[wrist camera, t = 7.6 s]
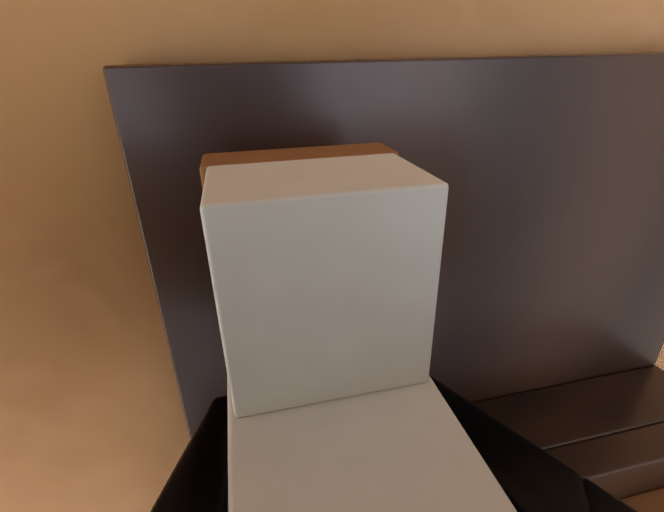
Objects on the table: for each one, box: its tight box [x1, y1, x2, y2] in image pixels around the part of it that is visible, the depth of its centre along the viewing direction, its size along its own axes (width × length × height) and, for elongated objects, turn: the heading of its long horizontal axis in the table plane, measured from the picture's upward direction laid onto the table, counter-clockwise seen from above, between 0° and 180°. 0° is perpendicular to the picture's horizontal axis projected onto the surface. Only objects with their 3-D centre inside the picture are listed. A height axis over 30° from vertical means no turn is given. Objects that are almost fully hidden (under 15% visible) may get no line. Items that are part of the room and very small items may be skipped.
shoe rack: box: [103, 52, 664, 500], centre depth 11 cm, size 15×19×6 cm
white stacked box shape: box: [199, 142, 517, 512], centre depth 6 cm, size 7×3×5 cm, turn 1°
